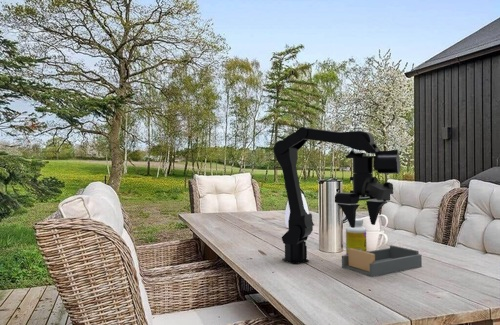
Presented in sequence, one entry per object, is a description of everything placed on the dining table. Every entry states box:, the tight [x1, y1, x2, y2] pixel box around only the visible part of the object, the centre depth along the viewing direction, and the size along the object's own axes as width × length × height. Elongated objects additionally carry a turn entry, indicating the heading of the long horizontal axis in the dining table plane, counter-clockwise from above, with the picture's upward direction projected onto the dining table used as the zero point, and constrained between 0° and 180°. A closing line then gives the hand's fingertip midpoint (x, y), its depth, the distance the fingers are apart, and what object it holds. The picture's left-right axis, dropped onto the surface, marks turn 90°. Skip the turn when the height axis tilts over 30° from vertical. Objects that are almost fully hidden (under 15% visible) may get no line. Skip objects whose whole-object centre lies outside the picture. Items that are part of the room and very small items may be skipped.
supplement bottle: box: [345, 217, 367, 255], centre depth 131 cm, size 7×7×13 cm
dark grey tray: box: [341, 244, 423, 278], centre depth 118 cm, size 21×12×5 cm, turn 120°
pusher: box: [348, 248, 375, 272], centre depth 114 cm, size 1×9×5 cm, turn 30°
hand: (363, 226), depth 116 cm, fingers open, 9 cm apart
